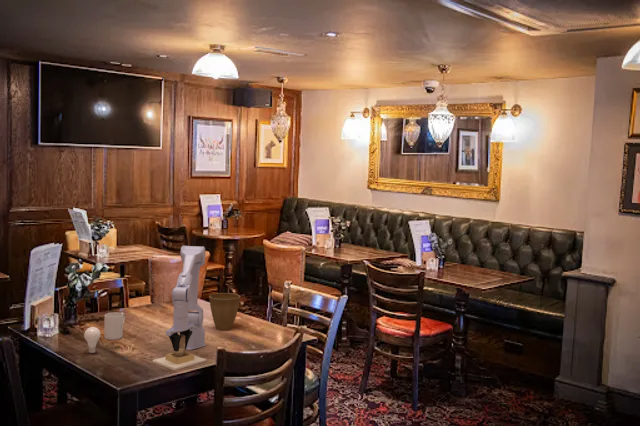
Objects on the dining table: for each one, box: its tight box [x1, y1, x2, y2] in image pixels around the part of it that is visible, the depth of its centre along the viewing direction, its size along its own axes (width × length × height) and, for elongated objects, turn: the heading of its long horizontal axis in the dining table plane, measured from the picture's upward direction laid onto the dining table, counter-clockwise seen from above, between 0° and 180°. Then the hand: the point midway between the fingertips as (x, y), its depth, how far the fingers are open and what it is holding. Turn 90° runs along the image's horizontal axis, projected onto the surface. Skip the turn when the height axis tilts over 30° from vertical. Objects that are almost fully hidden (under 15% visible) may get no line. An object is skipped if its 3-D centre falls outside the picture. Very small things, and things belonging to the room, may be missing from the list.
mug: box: [103, 311, 126, 341], centre depth 293 cm, size 12×8×10 cm, turn 165°
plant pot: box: [208, 292, 241, 331], centre depth 314 cm, size 15×15×16 cm
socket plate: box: [152, 351, 208, 371], centre depth 262 cm, size 16×14×3 cm
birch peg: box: [174, 335, 186, 357], centre depth 261 cm, size 4×4×8 cm
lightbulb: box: [83, 326, 102, 354], centre depth 268 cm, size 6×6×11 cm
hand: (180, 349), depth 261 cm, fingers closed on birch peg, 4 cm apart
